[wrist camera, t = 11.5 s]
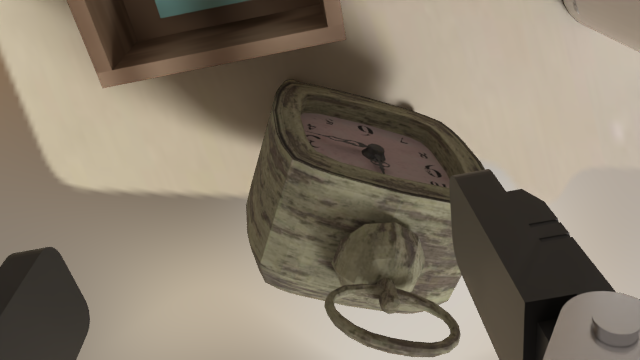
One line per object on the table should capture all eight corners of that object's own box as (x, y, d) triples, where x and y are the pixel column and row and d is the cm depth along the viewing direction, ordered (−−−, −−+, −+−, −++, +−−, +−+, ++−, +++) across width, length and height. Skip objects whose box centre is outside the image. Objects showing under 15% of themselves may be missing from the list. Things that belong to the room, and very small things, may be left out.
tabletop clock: (438, 104, 45) (588, 312, 23) (401, 192, 49) (498, 439, 27) (273, 59, 42) (268, 249, 20) (248, 157, 46) (220, 401, 25)
